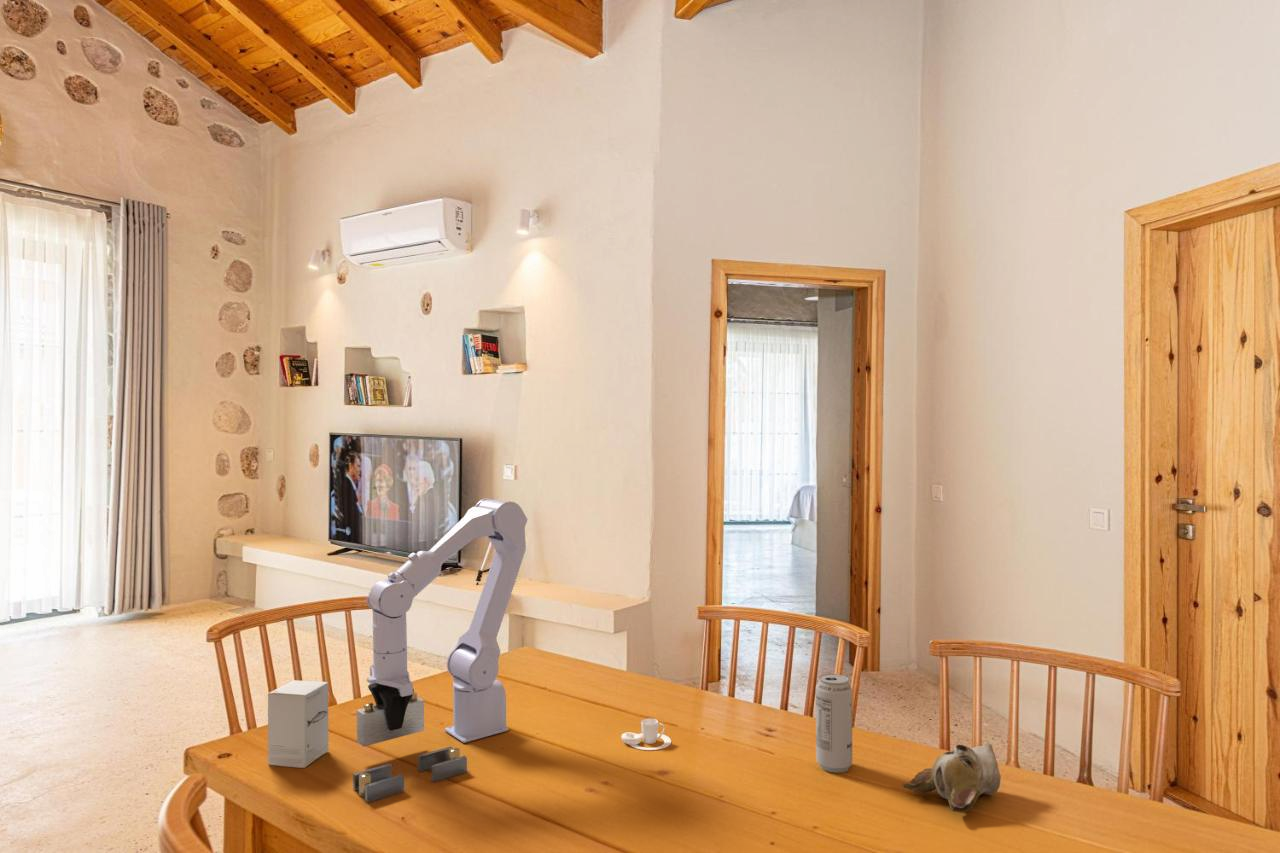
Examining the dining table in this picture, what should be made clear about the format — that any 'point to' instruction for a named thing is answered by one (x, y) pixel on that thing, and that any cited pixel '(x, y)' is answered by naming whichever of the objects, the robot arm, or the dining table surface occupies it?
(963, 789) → the ceramic sculpture
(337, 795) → the dining table surface
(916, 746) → the dining table surface
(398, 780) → the end link
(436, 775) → the end link
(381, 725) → the block with brass knobs
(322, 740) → the supplement box
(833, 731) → the energy drink can
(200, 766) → the dining table surface
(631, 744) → the teacup and saucer
